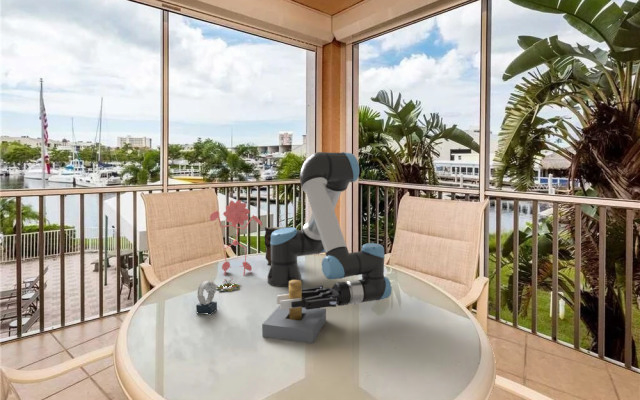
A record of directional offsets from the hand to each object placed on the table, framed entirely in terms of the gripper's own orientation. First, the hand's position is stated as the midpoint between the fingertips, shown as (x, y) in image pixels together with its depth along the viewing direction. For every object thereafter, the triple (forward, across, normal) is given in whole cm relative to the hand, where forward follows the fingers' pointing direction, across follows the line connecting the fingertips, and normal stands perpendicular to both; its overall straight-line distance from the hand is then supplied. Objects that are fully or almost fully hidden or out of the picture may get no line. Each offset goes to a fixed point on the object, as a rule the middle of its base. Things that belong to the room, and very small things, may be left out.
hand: (278, 302), depth 112 cm
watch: (+21, +23, -10) cm, 33 cm away
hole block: (-5, 0, -9) cm, 11 cm away
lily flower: (+12, +45, -10) cm, 48 cm away
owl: (-18, +74, -10) cm, 77 cm away
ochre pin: (-5, 0, -8) cm, 10 cm away
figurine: (+4, +68, -10) cm, 69 cm away
